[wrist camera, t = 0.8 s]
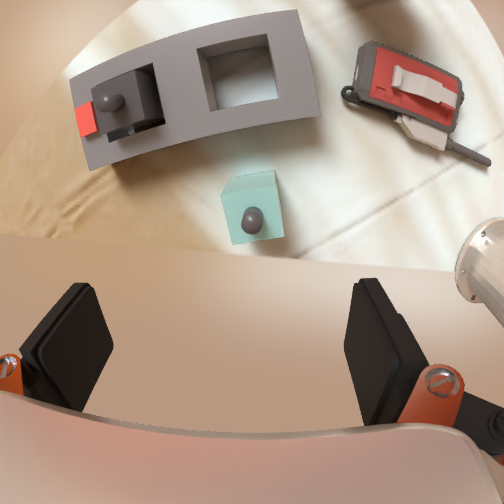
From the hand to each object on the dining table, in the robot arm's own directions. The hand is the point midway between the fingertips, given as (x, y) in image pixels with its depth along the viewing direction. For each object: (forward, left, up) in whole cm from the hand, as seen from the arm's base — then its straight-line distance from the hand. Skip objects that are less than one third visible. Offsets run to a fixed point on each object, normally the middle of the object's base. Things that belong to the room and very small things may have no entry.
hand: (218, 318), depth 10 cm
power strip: (+4, -11, -22) cm, 25 cm away
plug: (0, +1, -22) cm, 22 cm away
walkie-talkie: (-20, -6, -23) cm, 31 cm away
